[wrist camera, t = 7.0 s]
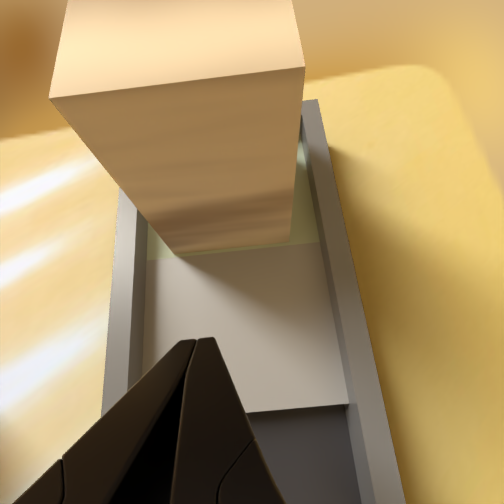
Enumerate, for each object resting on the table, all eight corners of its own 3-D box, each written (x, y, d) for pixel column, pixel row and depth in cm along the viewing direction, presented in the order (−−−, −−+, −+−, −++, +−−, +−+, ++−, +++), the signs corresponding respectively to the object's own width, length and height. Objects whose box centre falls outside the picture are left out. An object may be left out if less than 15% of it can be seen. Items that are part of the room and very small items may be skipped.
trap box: (470, 934, 10) (549, 1160, 7) (106, 948, 10) (41, 1168, 7) (311, 136, 21) (317, 99, 18) (144, 156, 21) (124, 122, 18)
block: (289, 241, 17) (305, 66, 7) (174, 254, 17) (48, 98, 8) (275, 148, 19) (275, -77, 10) (174, 160, 19) (78, -49, 10)
